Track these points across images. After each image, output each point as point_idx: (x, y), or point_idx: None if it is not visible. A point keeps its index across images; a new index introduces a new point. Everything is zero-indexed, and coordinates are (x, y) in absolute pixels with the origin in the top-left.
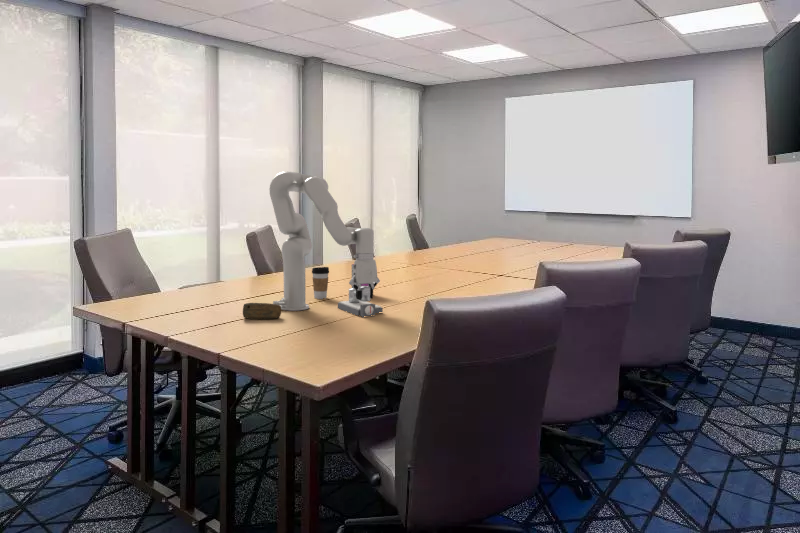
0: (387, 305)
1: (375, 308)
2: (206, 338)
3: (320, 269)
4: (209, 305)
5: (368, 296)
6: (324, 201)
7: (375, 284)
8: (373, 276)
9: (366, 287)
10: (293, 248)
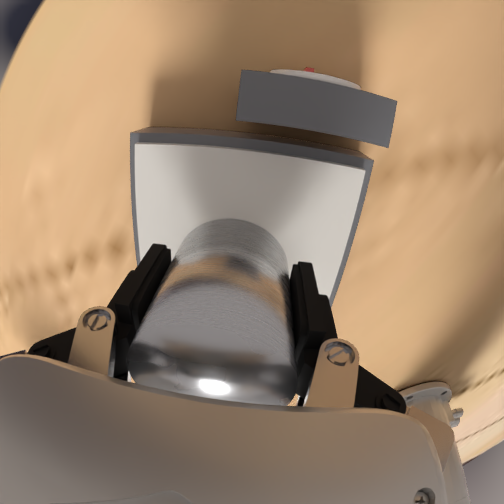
0: (51, 290)
1: (198, 135)
2: None
3: None
4: (458, 442)
5: (215, 242)
6: None
7: (46, 351)
8: (11, 469)
9: (218, 345)
10: None
